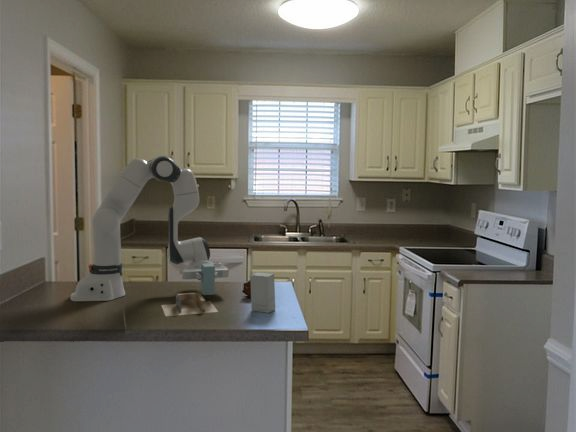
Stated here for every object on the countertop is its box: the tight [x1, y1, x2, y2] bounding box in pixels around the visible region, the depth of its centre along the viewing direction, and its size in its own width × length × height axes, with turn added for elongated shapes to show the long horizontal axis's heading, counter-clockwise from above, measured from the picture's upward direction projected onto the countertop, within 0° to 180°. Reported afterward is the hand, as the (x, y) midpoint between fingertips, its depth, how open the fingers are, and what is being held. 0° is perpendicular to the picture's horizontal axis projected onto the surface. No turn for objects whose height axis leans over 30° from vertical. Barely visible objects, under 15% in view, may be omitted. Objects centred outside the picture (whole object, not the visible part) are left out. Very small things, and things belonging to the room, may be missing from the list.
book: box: [200, 263, 216, 296], centre depth 210 cm, size 4×7×12 cm, turn 20°
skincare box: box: [249, 272, 276, 314], centre depth 198 cm, size 8×6×15 cm
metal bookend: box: [175, 294, 181, 313], centre depth 195 cm, size 1×10×4 cm, turn 20°
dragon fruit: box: [242, 280, 251, 299], centre depth 220 cm, size 8×8×12 cm
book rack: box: [161, 292, 219, 317], centre depth 196 cm, size 20×16×6 cm
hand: (208, 276), depth 209 cm, fingers closed on book, 4 cm apart
